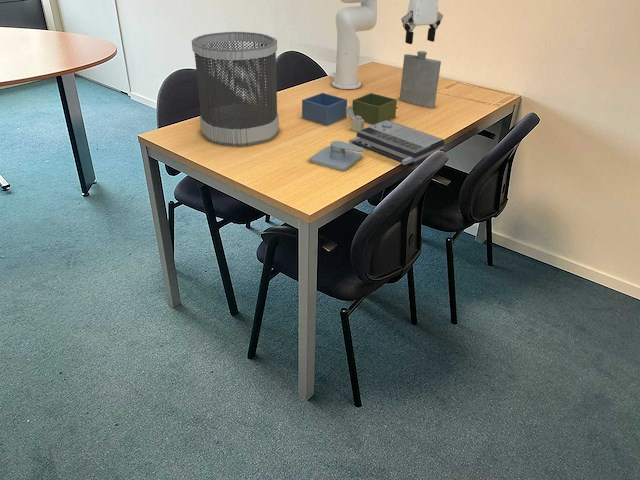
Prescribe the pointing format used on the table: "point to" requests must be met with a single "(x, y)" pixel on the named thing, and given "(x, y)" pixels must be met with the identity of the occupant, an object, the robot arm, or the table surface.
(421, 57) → the hip flask
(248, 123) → the wastebasket
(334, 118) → the bin
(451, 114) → the table surface
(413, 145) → the radio
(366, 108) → the bin
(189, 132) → the table surface
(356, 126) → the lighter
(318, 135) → the table surface
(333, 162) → the shower valve
